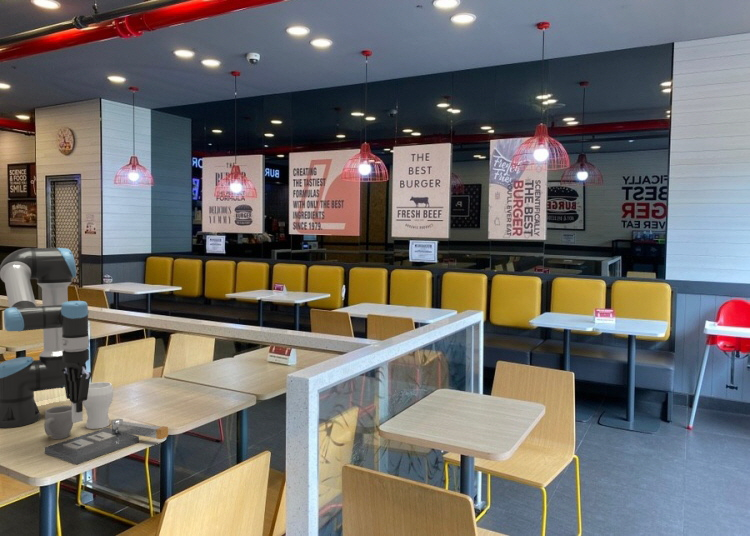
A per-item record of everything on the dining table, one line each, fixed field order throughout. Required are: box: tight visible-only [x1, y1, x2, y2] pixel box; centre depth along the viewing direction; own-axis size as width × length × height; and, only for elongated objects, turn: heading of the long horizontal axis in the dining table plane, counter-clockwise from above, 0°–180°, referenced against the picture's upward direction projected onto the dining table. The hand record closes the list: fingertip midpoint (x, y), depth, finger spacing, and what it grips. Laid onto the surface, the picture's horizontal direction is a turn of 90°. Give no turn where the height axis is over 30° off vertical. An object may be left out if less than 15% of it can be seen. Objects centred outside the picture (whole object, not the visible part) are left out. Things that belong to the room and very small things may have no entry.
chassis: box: [44, 427, 140, 465], centre depth 186 cm, size 17×22×2 cm
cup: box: [83, 381, 114, 430], centre depth 207 cm, size 11×11×15 cm
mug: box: [43, 405, 74, 440], centre depth 194 cm, size 12×9×10 cm
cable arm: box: [111, 418, 169, 440], centre depth 192 cm, size 22×4×4 cm, turn 70°
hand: (77, 421), depth 183 cm, fingers closed
